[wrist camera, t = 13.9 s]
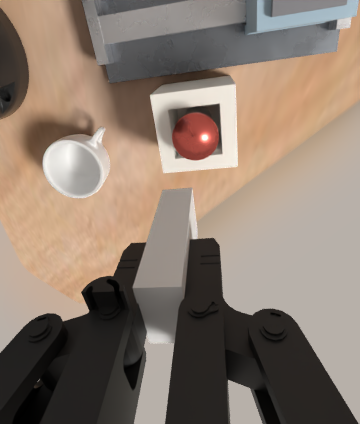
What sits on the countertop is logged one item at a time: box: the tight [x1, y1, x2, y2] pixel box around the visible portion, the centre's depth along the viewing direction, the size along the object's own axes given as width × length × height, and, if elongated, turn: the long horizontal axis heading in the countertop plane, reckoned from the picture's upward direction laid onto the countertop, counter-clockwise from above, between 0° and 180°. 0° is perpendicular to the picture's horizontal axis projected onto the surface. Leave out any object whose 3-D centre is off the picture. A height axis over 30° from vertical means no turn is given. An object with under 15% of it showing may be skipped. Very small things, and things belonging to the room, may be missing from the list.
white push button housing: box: [150, 76, 238, 173], centre depth 31 cm, size 8×8×8 cm
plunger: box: [172, 106, 219, 161], centre depth 29 cm, size 4×4×8 cm
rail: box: [82, 0, 351, 83], centre depth 28 cm, size 25×10×3 cm, turn 97°
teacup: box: [43, 127, 110, 198], centre depth 36 cm, size 10×8×5 cm
